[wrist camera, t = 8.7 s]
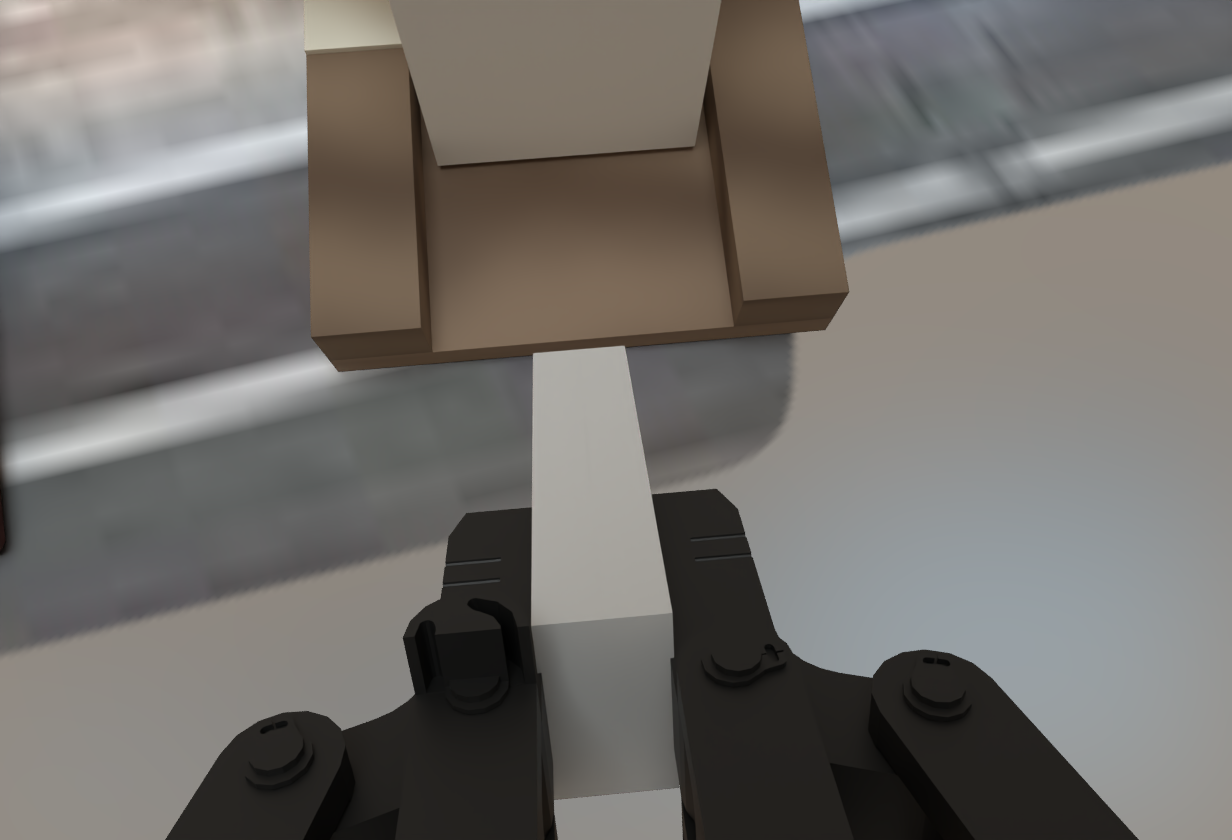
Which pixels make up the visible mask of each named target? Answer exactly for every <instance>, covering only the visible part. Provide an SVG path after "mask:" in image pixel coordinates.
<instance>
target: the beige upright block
mask: <svg viewBox="0 0 1232 840" xmlns="http://www.w3.org/2000/svg"><path fill="white" fill-rule="evenodd" d="M389 3H390V6H391V10H392V13H393V16H394V20H395V23H396V26H397V30H398V33H399V36H400V40H401V43H402V47H403V50H404V53H405V57H406V60H407V63H408V67H409V70H410V74H411V77H412V80H413V84H414V87H415V90H416V94H417V97H418V101H419V104H420V107H421V111H422V114H423V117H424V121H425V124H426V128H427V131H428V134H429V138H430V141H431V144H432V148H433V151H434V155H435V158H436V161H437V165H438V166H442V165H455V164H468V163H481V162H495V161H508V160H521V159H534V158H547V157H560V156H573V155H586V154H599V153H612V152H626V151H639V150H652V149H665V148H678V147H691V146H695V142H696V137H697V131H698V126H699V120H700V115H701V109H702V104H703V98H704V93H705V87H706V82H707V76H708V71H709V66H710V60H711V55H712V49H713V44H714V38H715V33H716V27H717V22H718V16H719V11H720V5H721V0H389Z"/></svg>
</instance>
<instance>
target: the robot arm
mask: <svg viewBox="0 0 1232 840" xmlns="http://www.w3.org/2000/svg"><path fill="white" fill-rule="evenodd" d="M403 641H404V645H405V650H406V654H407V659H408V664H409V668H410V673H411V677H412V682H413V686H414V691H415V695H414V696H413V697H412V698H411V699H410V700H409V701H408V702H406V703H404V704H403V705H402V706H400V707H398V708H397V709H395V710H394V711H393V712H390V713H388V714H386V715H383V716H381V717H379V718H377V719H374V720H372V721H369V722H366V723H363V724H360V725H357V726H355V727H352V728H349V729H346V730H343V731H341V728H339V727H338V726H337V725H336V724H335V723H334V722H333V721H332V720H331V719H329V718H328V717H327V716H323V715H320V714H316V713H312V712H309V711H304V712H303V711H302V712H287V713H281V714H278V715H275V716H273V717H270V718H267V719H264V720H261V721H259V722H257V723H256V724H254V725H252V726H251V727H249V728H248V729H246V730H245V731H243V732H241V733H240V734H238V735H237V736H236V737H235V738H234V739H233V740H232V741H231V743H230V744H229V745H228V746H227V747H226V748H225V749H224V750H223V752H222V753H221V754H220V755H219V757H218V758H217V760H216V761H215V763H214V765H213V766H212V768H211V769H210V771H209V772H208V774H207V775H206V777H205V779H204V780H203V782H202V783H201V785H200V787H199V788H198V790H197V791H196V793H195V794H194V796H193V797H192V799H191V800H190V802H189V803H188V805H187V807H186V808H185V810H184V811H183V813H182V814H181V816H180V818H179V819H178V821H177V822H176V824H175V825H174V827H173V829H172V830H171V832H170V833H169V835H168V836H167V838H166V839H165V840H558V838H557V830H556V823H555V815H554V800H558V799H568V798H578V797H588V796H598V795H609V794H619V793H630V792H640V791H650V790H660V789H670V788H679V785H680V790H681V799H682V826H683V840H1139V839H1138V838H1137V837H1136V836H1135V835H1134V834H1133V833H1132V832H1131V831H1130V830H1129V829H1128V827H1127V826H1126V825H1125V824H1124V823H1123V822H1122V821H1121V820H1120V819H1119V817H1117V815H1116V814H1115V813H1114V812H1113V811H1112V810H1111V809H1110V808H1109V807H1108V805H1107V804H1106V803H1105V802H1104V801H1103V800H1102V799H1101V798H1100V797H1099V796H1098V794H1097V793H1096V792H1095V791H1094V790H1093V789H1092V788H1091V787H1090V786H1089V785H1088V783H1087V782H1086V781H1085V780H1084V779H1083V778H1082V777H1081V776H1080V775H1079V774H1078V772H1077V771H1076V770H1075V769H1074V768H1073V767H1072V766H1071V765H1070V764H1069V763H1068V761H1066V759H1065V758H1064V757H1063V756H1062V755H1061V754H1060V753H1059V752H1058V750H1057V749H1056V748H1055V747H1054V746H1053V745H1052V744H1051V743H1050V742H1049V741H1048V740H1047V738H1046V737H1045V736H1044V735H1043V734H1042V733H1041V732H1040V731H1039V730H1038V729H1037V727H1036V726H1035V725H1034V724H1033V723H1032V722H1031V721H1030V720H1029V719H1028V718H1027V717H1026V715H1025V714H1024V713H1023V712H1022V711H1021V710H1020V709H1019V708H1018V707H1017V705H1016V704H1015V703H1014V702H1013V701H1012V700H1011V699H1010V698H1009V697H1008V696H1007V694H1006V693H1005V692H1004V691H1003V690H1002V689H1001V688H1000V687H999V686H998V685H997V683H996V682H995V681H994V680H993V679H992V678H991V677H990V676H988V675H987V674H986V673H985V672H983V671H982V670H981V669H980V668H978V667H977V666H976V665H974V664H973V663H972V662H969V661H967V660H964V659H962V658H959V657H957V656H955V655H952V654H950V653H944V652H938V651H930V650H918V651H910V652H902V653H900V654H898V655H896V656H894V657H892V658H890V659H888V660H886V661H884V662H883V663H882V665H881V666H880V667H879V669H878V670H877V671H876V673H875V674H874V675H873V678H869V677H863V676H856V675H850V674H843V673H838V672H833V671H830V670H825V669H821V668H819V667H816V666H814V665H812V664H810V663H807V662H805V661H803V660H802V659H800V658H799V657H797V656H796V655H795V654H793V653H792V651H791V650H790V648H789V646H788V645H787V643H786V642H784V641H783V640H782V639H780V638H779V637H778V635H777V633H776V631H775V629H774V625H773V622H772V619H771V616H770V612H769V609H768V606H767V603H766V599H765V596H764V593H763V590H762V586H761V583H760V580H759V577H758V573H757V570H756V567H755V564H754V560H753V558H752V557H751V551H750V547H749V544H748V541H747V538H746V537H745V532H744V528H743V525H742V521H741V518H740V515H739V512H738V509H737V508H736V507H735V506H734V505H733V504H732V503H731V502H730V501H729V500H728V499H727V498H726V497H725V496H724V495H723V494H721V493H720V492H719V491H718V490H717V489H709V490H697V491H686V492H675V493H663V494H652V495H651V490H650V485H649V479H648V473H647V468H646V462H645V457H644V451H643V445H642V440H641V434H640V429H639V423H638V418H637V412H636V406H635V401H634V395H633V390H632V384H631V378H630V373H629V367H628V362H627V356H626V351H625V346H614V347H602V348H590V349H578V350H566V351H554V352H542V353H533V443H532V508H520V509H509V510H498V511H486V512H475V513H466V514H465V516H464V517H463V518H462V520H461V521H460V522H459V524H458V525H457V526H456V528H455V529H454V530H453V532H452V533H451V534H450V536H449V539H448V546H447V554H446V567H445V570H444V577H443V588H442V593H441V599H440V600H438V601H436V602H434V603H432V604H430V605H428V606H426V607H425V608H424V609H422V610H421V611H420V612H419V613H418V614H417V615H416V616H415V617H414V618H413V619H412V620H411V621H410V623H409V625H408V627H407V629H406V632H405V634H404V636H403Z"/></svg>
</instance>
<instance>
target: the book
mask: <svg viewBox="0 0 1232 840" xmlns="http://www.w3.org/2000/svg"><path fill="white" fill-rule="evenodd" d="M4 543H5V531H4V522H3V511H2V501H1V490H0V552H1V550H2V547H3V545H4Z"/></svg>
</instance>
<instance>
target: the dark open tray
mask: <svg viewBox="0 0 1232 840" xmlns="http://www.w3.org/2000/svg"><path fill="white" fill-rule="evenodd" d="M304 48H305V53H306V58H307V120H308V181H309V243H310V305H311V338H312V339H313V340H314V341H315V343H316V344H317V345H318V346H319V348H320V349H321V350H322V351H323V353H324V354H325V355H326V357H327V358H328V359H329V360H330V362H331V363H332V364H333V365H334V367H335V368H336V369H337V370H338V372H340V371H352V370H363V369H375V368H387V367H398V366H410V365H422V364H433V363H445V362H457V361H468V360H480V359H492V358H504V357H515V356H527V355H533V353H542V352H554V351H566V350H578V349H590V348H602V347H614V346H625V347H632V346H644V345H656V344H667V343H679V342H691V341H702V340H714V339H726V338H737V337H749V336H761V335H773V334H784V333H796V332H807V331H819V330H825V329H826V328H827V326H828V324H829V323H830V322H831V320H832V318H833V317H834V315H835V314H836V312H837V311H838V309H839V307H840V306H841V304H842V303H843V301H844V299H845V298H846V296H847V294H848V293H849V288H848V282H847V276H846V271H845V264H844V259H843V253H842V247H841V241H840V236H839V230H838V224H837V218H836V213H835V207H834V201H833V195H832V190H831V184H830V178H829V172H828V167H827V161H826V155H825V149H824V144H823V138H822V132H821V126H820V121H819V115H818V109H817V103H816V98H815V92H814V86H813V80H812V75H811V69H810V63H809V57H808V51H807V46H806V40H805V34H804V28H803V23H802V17H801V11H800V5H799V0H721V5H720V11H719V16H718V22H717V27H716V33H715V38H714V44H713V49H712V55H711V60H710V66H709V71H708V76H707V82H706V87H705V93H704V98H703V104H702V109H701V115H700V120H699V126H698V131H697V137H696V142H695V146H691V147H678V148H665V149H652V150H639V151H626V152H612V153H599V154H586V155H573V156H560V157H547V158H534V159H521V160H508V161H495V162H481V163H468V164H455V165H442V166H438V165H437V161H436V158H435V155H434V151H433V148H432V144H431V141H430V138H429V134H428V131H427V128H426V124H425V121H424V117H423V114H422V111H421V107H420V104H419V101H418V97H417V94H416V90H415V87H414V84H413V80H412V77H411V74H410V70H409V67H408V63H407V60H406V57H405V53H404V50H403V47H402V43H401V40H400V36H399V33H398V30H397V26H396V23H395V20H394V16H393V13H392V10H391V6H390V3H389V0H304Z"/></svg>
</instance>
